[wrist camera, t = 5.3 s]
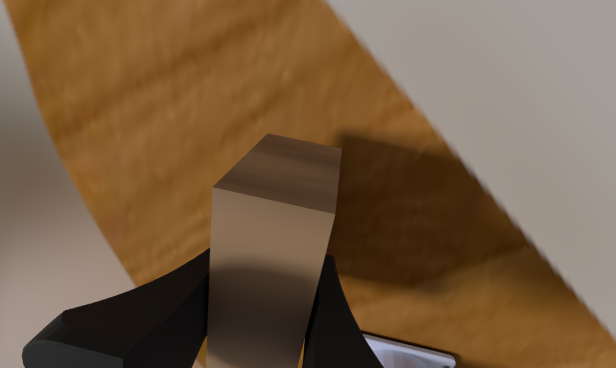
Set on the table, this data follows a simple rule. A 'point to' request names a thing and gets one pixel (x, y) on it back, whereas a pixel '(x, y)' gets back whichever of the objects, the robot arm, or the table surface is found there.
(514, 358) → the table surface
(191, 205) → the table surface
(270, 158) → the rectangular block
